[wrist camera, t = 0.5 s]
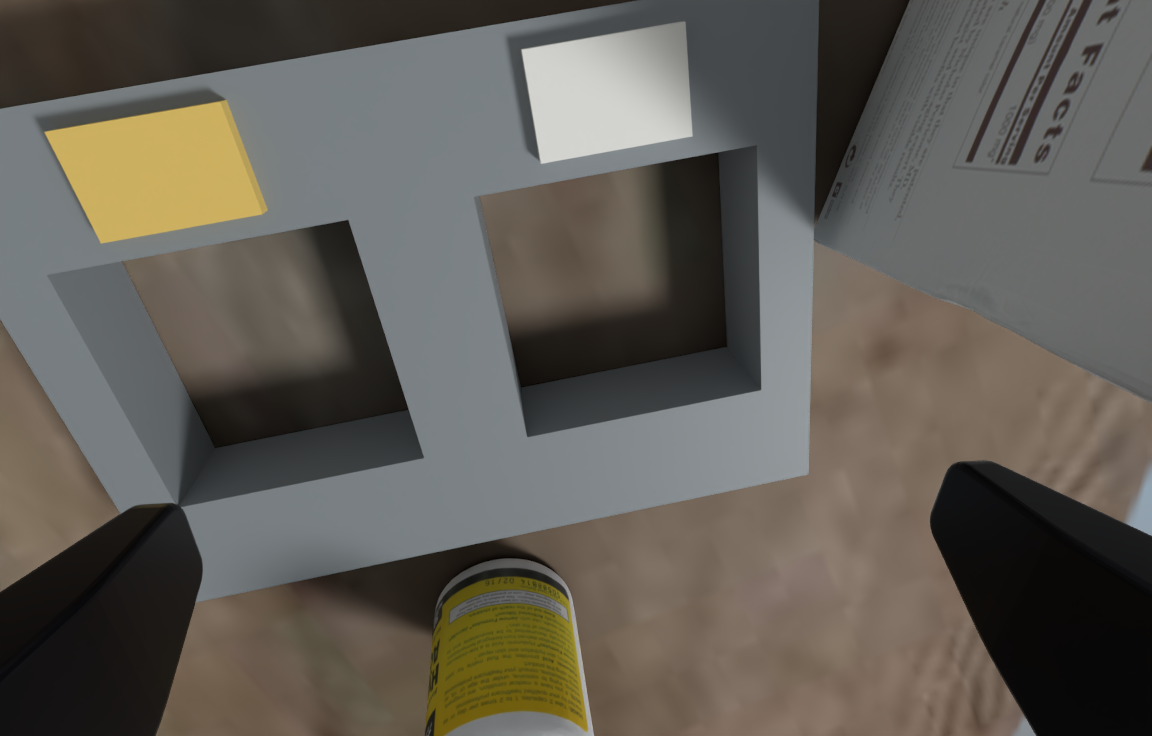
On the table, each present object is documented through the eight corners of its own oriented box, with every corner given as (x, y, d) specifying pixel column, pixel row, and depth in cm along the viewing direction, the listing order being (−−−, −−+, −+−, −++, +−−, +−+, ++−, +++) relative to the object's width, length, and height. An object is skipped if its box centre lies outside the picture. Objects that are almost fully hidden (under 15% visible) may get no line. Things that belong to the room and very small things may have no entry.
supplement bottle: (414, 574, 25) (381, 867, 16) (554, 537, 25) (596, 809, 16) (457, 666, 27) (449, 962, 19) (584, 632, 27) (634, 911, 19)
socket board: (212, 539, 23) (172, 616, 20) (-21, 112, 16) (-134, 131, 13) (771, 424, 24) (813, 482, 21) (766, -22, 17) (828, -33, 14)
